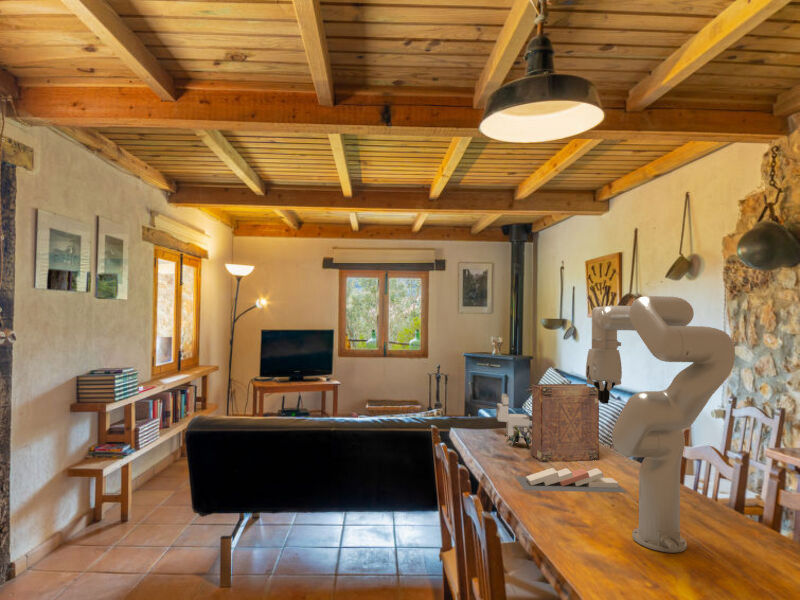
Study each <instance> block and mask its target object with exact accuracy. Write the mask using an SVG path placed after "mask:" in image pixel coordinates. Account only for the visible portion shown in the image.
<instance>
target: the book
mask: <svg viewBox="0 0 800 600" xmlns="http://www.w3.org/2000/svg"><path fill="white" fill-rule="evenodd" d="M531 386H532V387H531V390H532V391H531V394H532V395H531V421H532V427H531V432H532V434H531V440H532V441H531V457H533V456H534V457H533V458H535V459H536V458H537V459H536V460H538V461H539V460H540V461H539V462H541V463H549V462H548V461H565V462H589V461H590V462H591V461H593V460H594V461H595V460H596V461H599V460H600V402H599V400H598V389H597V388H596V387H595V386H590V385H588V383H544V384H543V383H540V384H539V383H536V384H535V383H534V384H532V385H531ZM596 461H595V462H596Z"/></svg>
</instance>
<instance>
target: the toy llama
mask: <svg viewBox="0 0 800 600" xmlns="http://www.w3.org/2000/svg"><path fill="white" fill-rule="evenodd" d="M509 398H510V397H509V395H508V393H505V392H504V393H503V392H502V393H501V402H496V405H495V406H496V409H495V410H496V411H495V416H496V417H495V418H496V421H497V422H499V423H500V422H502V423H503V422H504V423H506V424H505V425H506V427H505V430H506V431H505V432H507V434H508V436H511V435H512V436H514V429H515V428H514V427H515V425H517V427H518V428H519V427H520V428H521V429H522V430H523V431H524V432H527V431H528V430H527V428H529V429H530V428H532V420H530V416H529V415H528V414H525V413H509V403H510V402H509V401H510V399H509ZM527 435H528V436H529V437H530V433H529V432H528V433H527ZM508 436H507V437H508Z"/></svg>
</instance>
